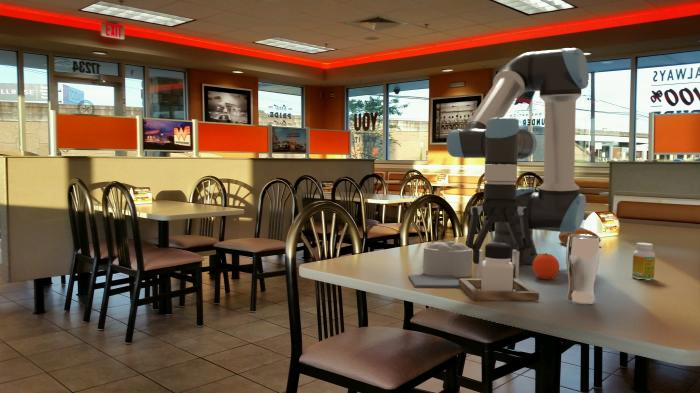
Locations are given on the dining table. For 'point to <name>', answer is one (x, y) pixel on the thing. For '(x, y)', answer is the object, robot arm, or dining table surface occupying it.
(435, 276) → the mat
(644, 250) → the supplement bottle
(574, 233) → the croissant
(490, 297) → the pocket
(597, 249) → the beer glass
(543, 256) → the clementine
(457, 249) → the lumpy-topped squat cylinder
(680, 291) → the dining table surface
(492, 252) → the medicine bottle
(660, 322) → the dining table surface
